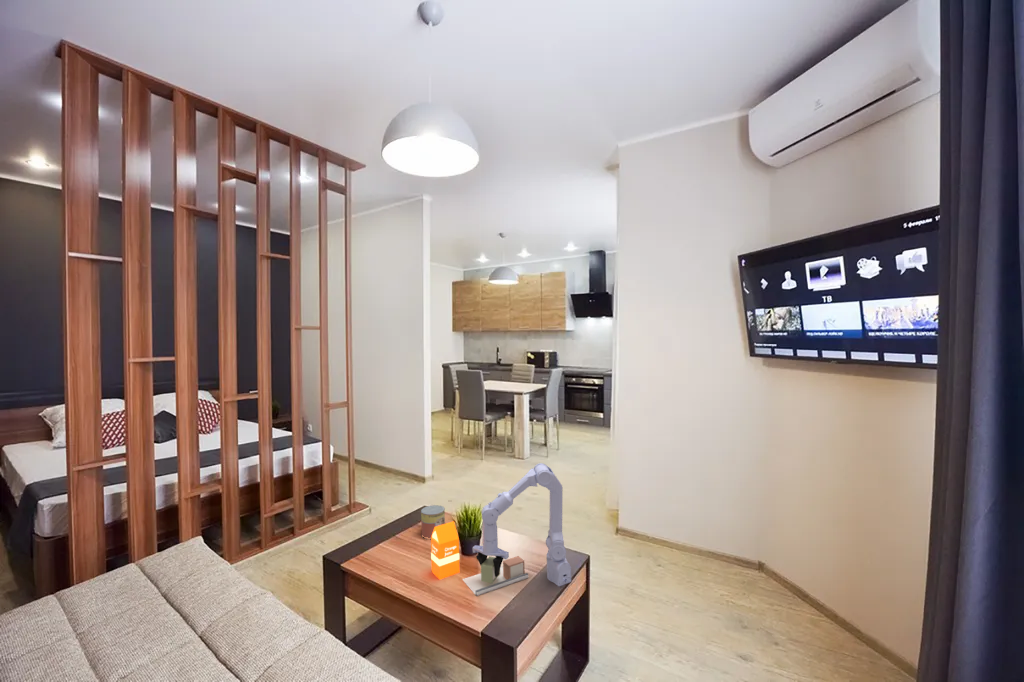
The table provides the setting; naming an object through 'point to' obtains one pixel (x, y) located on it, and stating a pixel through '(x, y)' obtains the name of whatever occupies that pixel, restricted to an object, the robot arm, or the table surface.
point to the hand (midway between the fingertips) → (490, 573)
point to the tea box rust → (513, 567)
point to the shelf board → (484, 587)
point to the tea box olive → (488, 570)
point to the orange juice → (445, 551)
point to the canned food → (432, 519)
